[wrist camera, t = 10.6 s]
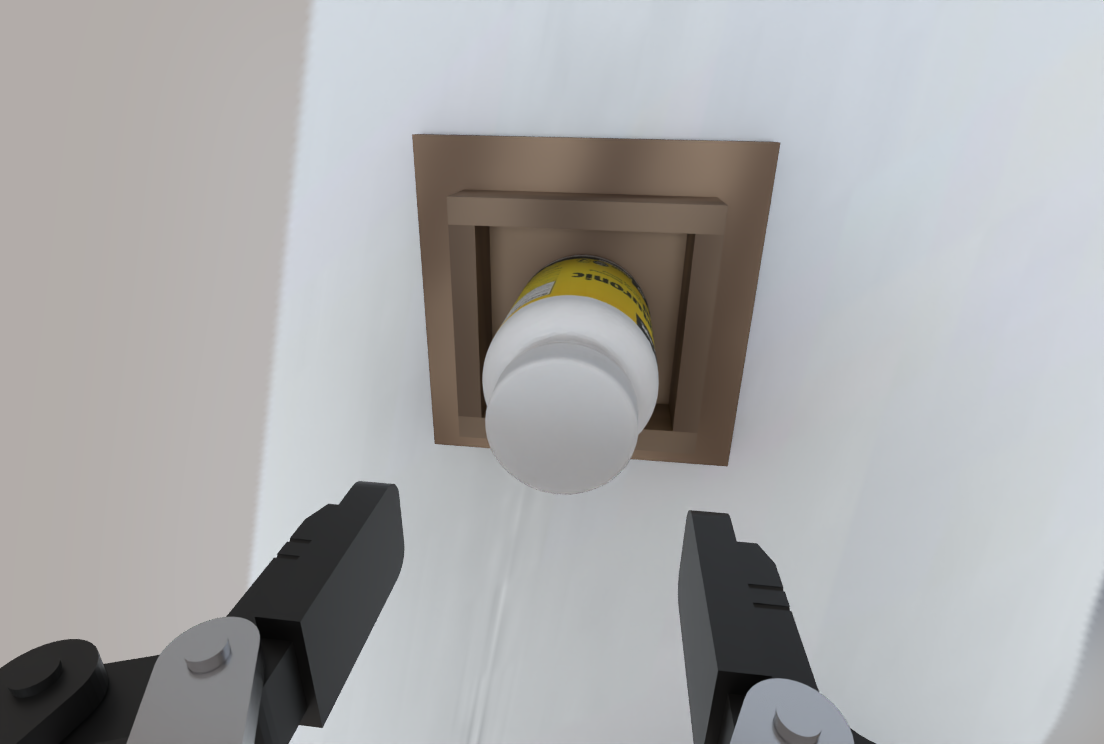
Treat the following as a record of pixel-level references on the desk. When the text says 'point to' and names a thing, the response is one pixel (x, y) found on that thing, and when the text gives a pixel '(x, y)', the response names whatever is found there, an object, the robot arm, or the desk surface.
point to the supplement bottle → (571, 376)
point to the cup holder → (604, 231)
